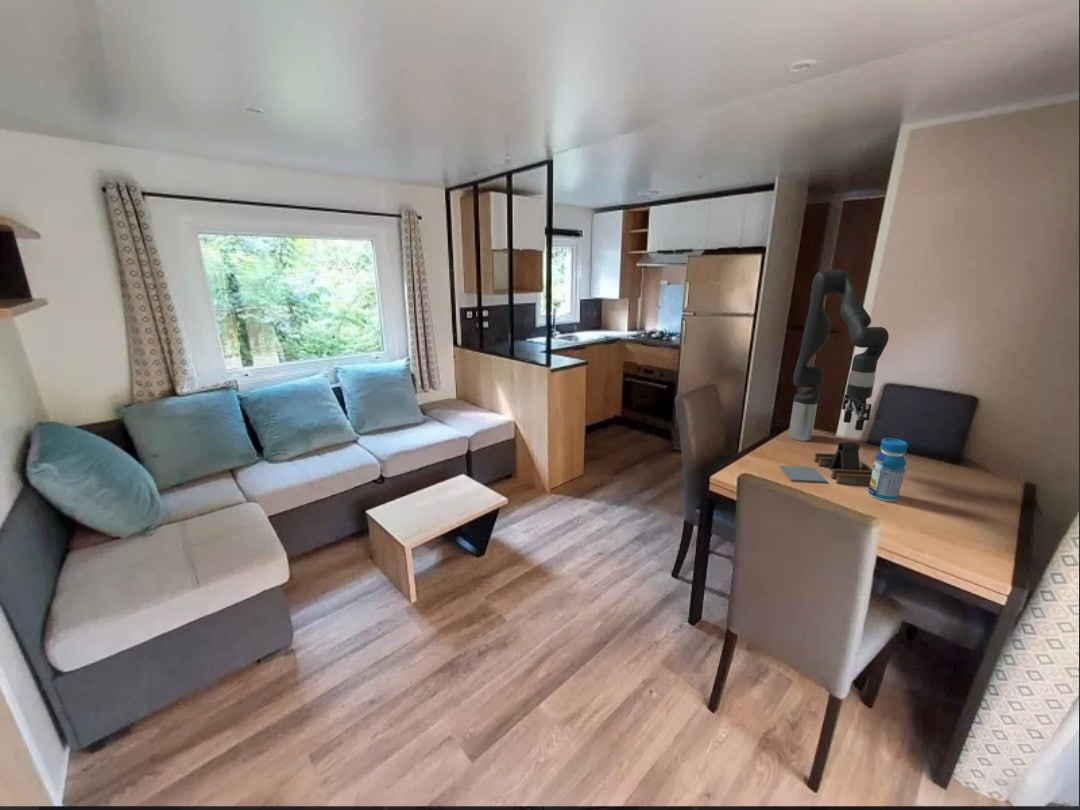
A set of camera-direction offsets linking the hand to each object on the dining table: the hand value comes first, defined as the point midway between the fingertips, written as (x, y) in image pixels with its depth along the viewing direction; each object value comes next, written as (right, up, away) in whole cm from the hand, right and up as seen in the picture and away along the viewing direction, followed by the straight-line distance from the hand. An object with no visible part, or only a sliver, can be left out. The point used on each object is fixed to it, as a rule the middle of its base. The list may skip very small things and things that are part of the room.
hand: (852, 426), depth 161 cm
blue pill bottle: (+1, -23, -12) cm, 26 cm away
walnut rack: (0, -18, +5) cm, 19 cm away
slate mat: (-16, -19, +4) cm, 25 cm away
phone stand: (+1, -18, +5) cm, 19 cm away
